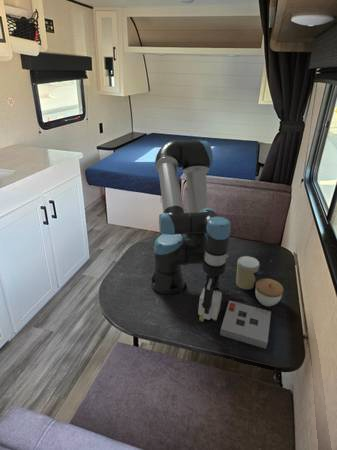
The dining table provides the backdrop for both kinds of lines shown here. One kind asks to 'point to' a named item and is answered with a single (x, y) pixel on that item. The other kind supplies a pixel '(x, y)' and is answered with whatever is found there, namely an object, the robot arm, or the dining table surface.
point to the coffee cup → (246, 272)
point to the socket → (246, 324)
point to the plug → (215, 304)
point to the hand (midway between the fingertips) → (209, 310)
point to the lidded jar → (268, 291)
